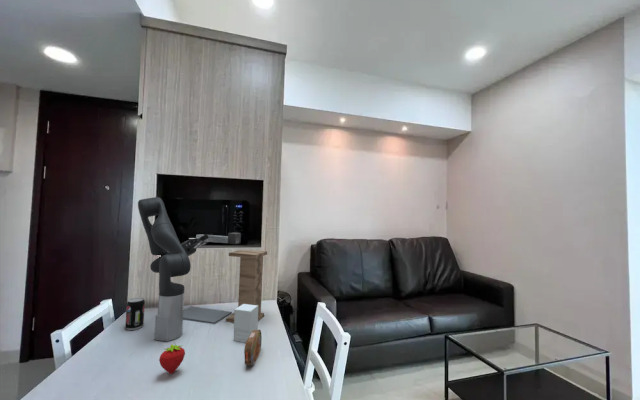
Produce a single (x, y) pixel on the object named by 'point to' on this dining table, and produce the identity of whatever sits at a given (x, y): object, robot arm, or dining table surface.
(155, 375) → the dining table surface
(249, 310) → the supplement box
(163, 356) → the strawberry
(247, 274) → the walnut shelf stand
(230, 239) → the steel bar
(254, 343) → the tin
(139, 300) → the beverage can
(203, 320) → the charcoal mat
